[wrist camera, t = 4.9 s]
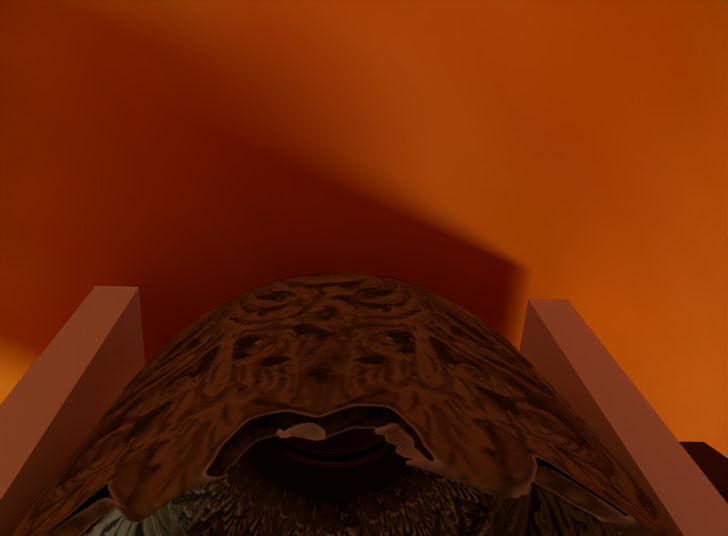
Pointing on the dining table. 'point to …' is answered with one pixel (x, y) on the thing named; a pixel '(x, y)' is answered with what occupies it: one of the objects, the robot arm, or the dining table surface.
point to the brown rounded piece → (341, 430)
